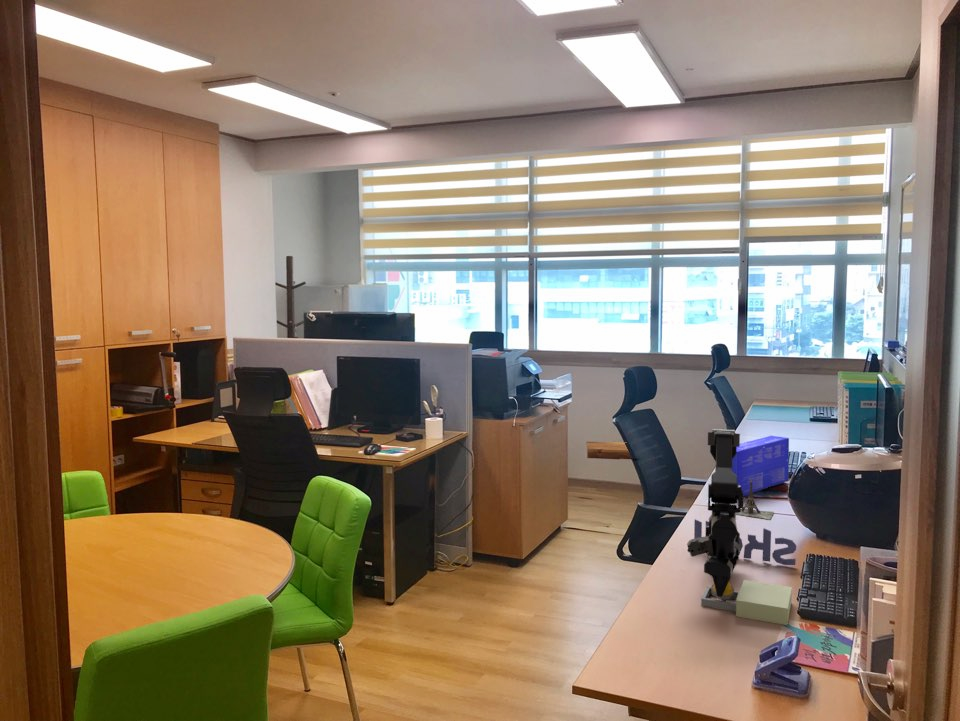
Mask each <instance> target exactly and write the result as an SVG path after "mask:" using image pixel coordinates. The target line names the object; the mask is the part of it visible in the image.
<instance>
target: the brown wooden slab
mask: <svg viewBox="0 0 960 721" xmlns="http://www.w3.org/2000/svg"><path fill="white" fill-rule="evenodd" d="M625 443H626V442H620V441H619V442H615V441H613V442H610V441H608V442H607V441H586V452H587V459H602V460H603V459H604V460H632V459H631V456H630V454H629V451H628V449H627V447H626V445H625Z"/></svg>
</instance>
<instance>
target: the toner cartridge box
mask: <svg viewBox="0 0 960 721" xmlns="http://www.w3.org/2000/svg"><path fill="white" fill-rule="evenodd" d="M789 452H790V438H789V437H784V436H776V435H775V436H774V435H767V436H763V437H760V438H755V439H752V440H748V441H745V442H744V441H743V442H740V447H737V452H736V455H735V456H734V458H733V459H732V472H733V473H734V474H735V475H736V476H737V478H738V486H741V489H742V490H743V497H745V496H747V495H748V496H749V491H750V480H751V479H752V491H753V494H754V493H757V492H758V493H759V492H761V491H763V490H767V489H769V488H771V486H772V487H775V486H777V485H780V484H783V483H786V482H789V480H790V479H789V477H790V476H789V475H790V474H789V472H790V470H789V468H790V467H789V466H790V465H789V463H790V457H789V456H790V453H789ZM768 487H769V488H768Z"/></svg>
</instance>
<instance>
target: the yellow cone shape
mask: <svg viewBox="0 0 960 721" xmlns="http://www.w3.org/2000/svg"><path fill="white" fill-rule="evenodd" d="M711 587H712V589H711V592H712V594H713V595H712V596H713V597H715V598H717V599H718V600H720V601H726V602H727V600H730V599H732V597H733V596H734V591H735V589H734V587H733V586H732V585H731V582H730V581H729V582H728V584H727V586H726V589H725V591H724V593H723V595H722V597H718V596H717V593H716V589H715V585H714V583H713V584H712V586H711Z"/></svg>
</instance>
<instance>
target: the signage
mask: <svg viewBox="0 0 960 721" xmlns="http://www.w3.org/2000/svg"><path fill="white" fill-rule="evenodd" d="M706 526H709V520H705V527H706ZM702 530H703V522H702V521H700V520H697V519H696V518H695V519H694V534H693V535H694V538H693V539H695V538H700V537H703V534H702V533H703V531H702ZM705 536H706V533H705V535H704V537H705ZM747 541H748V542H747V544H745V545H743V539H742V538H741V537H740V538H739V545H740V553H741V552H742V548H743V559H749V560H750V559H752V551H753V550H759V551H762V562H771V556H772V559H773V560H774V561H775V562H776V563H778V564H780V565H784V566H796V558H795V557H794V558H783V557H781V556H786V555H791V554H794V553H795V552H796V550H797V544H796V543H795V542H794V540H793V539H789V538H784V537H775V538H774V544H775V545H786V547H782V548H777V549H774V550H773V551H772V553H771V548H772V547H771V545H772V542H771V541H772V530H770V529H767V528H765V527H763V533H762V541H758V540H757V535H755V534H747ZM771 554H772V555H771ZM735 556H736V554H735Z"/></svg>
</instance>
